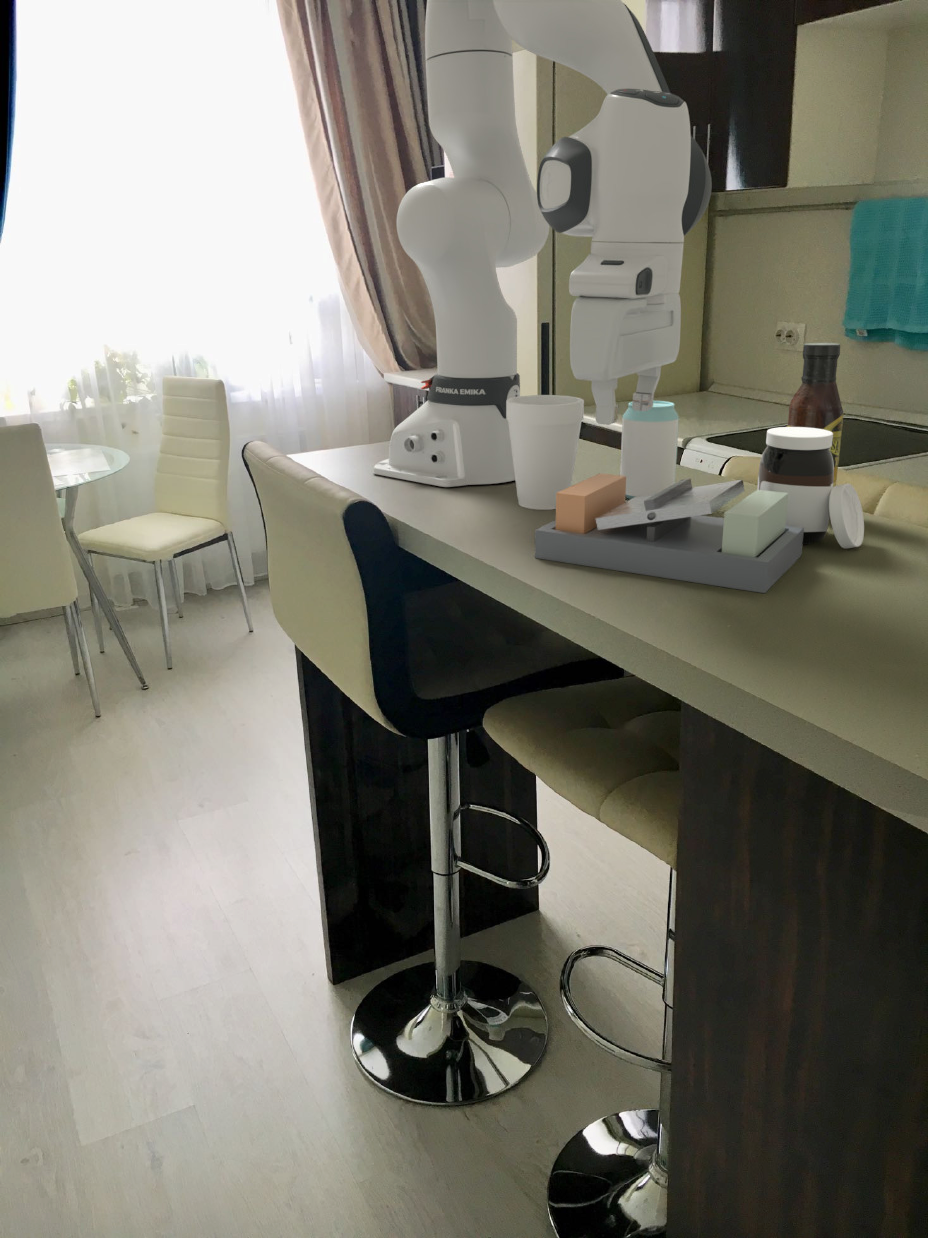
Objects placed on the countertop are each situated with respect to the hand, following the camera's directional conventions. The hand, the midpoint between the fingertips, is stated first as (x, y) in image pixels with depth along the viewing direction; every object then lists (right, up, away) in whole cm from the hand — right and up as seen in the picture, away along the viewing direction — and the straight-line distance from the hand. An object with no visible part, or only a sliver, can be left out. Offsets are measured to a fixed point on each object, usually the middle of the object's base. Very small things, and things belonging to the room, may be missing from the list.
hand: (624, 416), depth 103 cm
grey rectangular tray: (+5, -14, +2) cm, 15 cm away
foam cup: (-6, -6, +25) cm, 26 cm away
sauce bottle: (+25, -8, +19) cm, 33 cm away
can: (+7, -5, +28) cm, 29 cm away
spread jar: (+21, -12, +8) cm, 26 cm away
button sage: (+12, -13, -3) cm, 18 cm away
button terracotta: (-3, -10, +5) cm, 12 cm away
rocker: (+5, -9, 0) cm, 10 cm away
